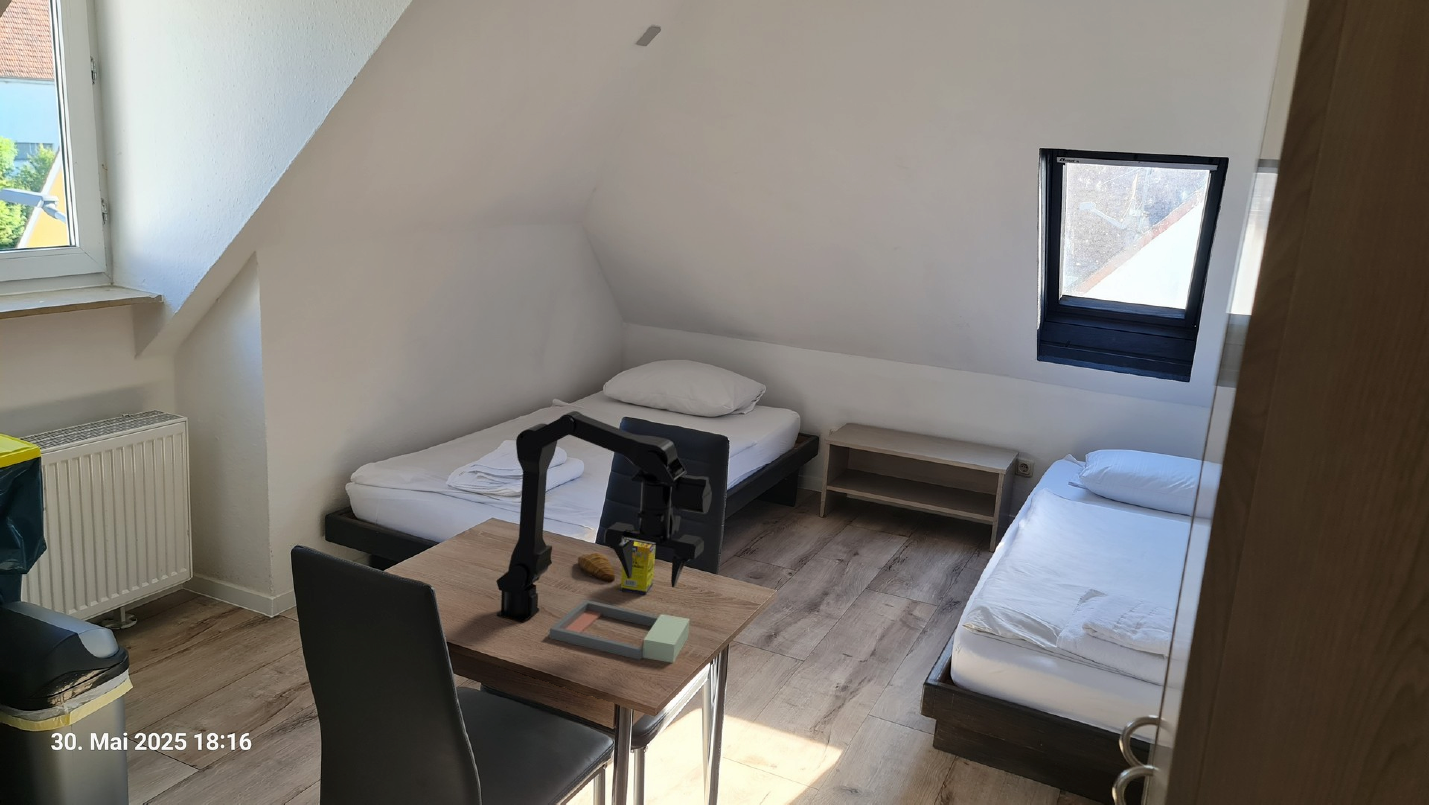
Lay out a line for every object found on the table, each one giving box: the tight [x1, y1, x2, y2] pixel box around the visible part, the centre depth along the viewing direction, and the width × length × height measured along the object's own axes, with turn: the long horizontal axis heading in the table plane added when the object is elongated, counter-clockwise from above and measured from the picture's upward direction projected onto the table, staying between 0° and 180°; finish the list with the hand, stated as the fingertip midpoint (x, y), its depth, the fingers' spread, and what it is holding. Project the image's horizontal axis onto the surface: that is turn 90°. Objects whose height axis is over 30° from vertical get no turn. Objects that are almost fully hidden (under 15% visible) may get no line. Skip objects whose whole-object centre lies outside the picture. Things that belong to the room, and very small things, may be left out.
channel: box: [548, 599, 660, 661], centre depth 196 cm, size 19×15×2 cm
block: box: [642, 613, 691, 664], centre depth 192 cm, size 6×12×4 cm, turn 168°
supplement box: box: [620, 541, 656, 595], centre depth 218 cm, size 6×6×11 cm
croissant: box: [577, 552, 616, 583], centre depth 225 cm, size 14×7×5 cm, turn 40°
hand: (651, 582), depth 191 cm, fingers open, 9 cm apart
